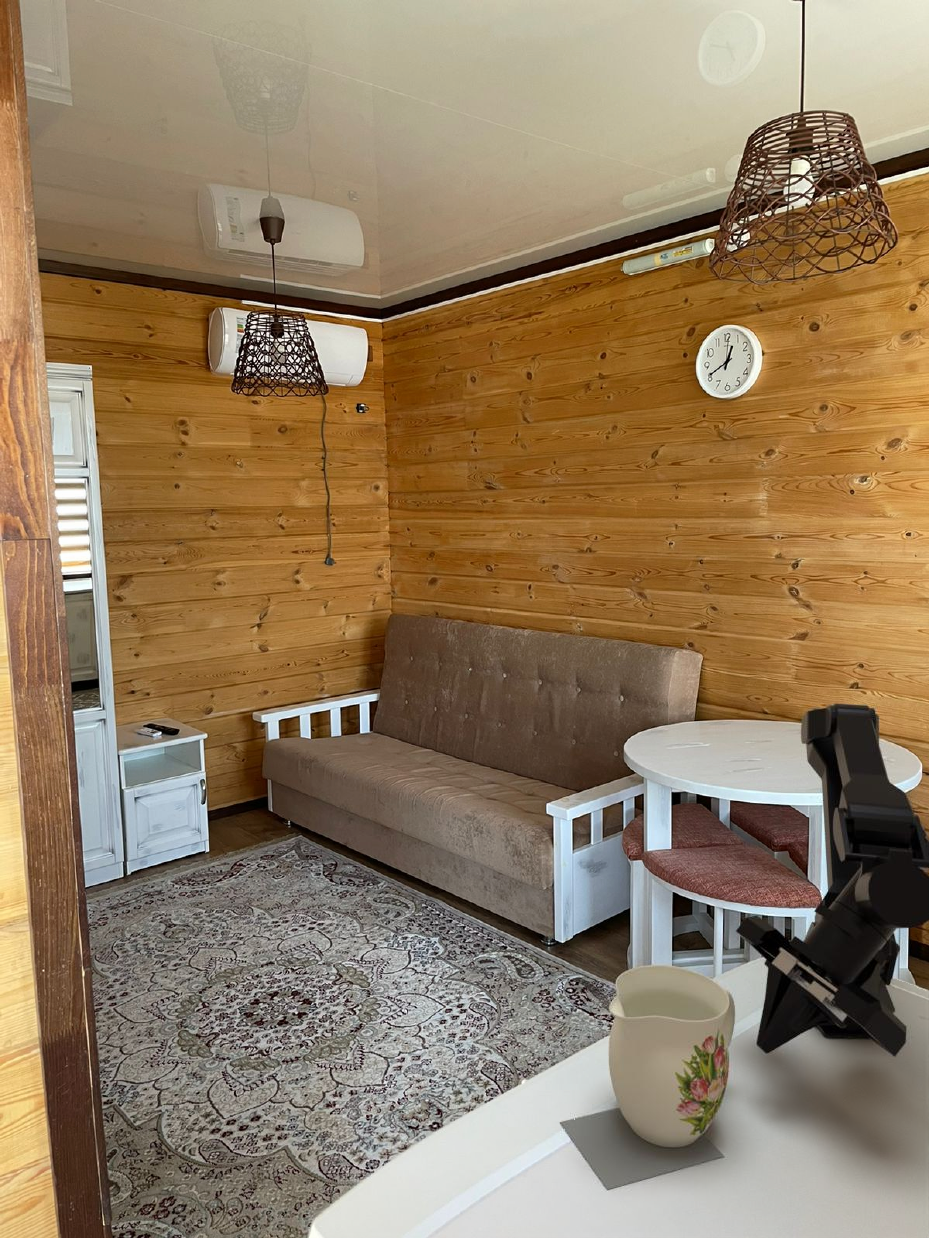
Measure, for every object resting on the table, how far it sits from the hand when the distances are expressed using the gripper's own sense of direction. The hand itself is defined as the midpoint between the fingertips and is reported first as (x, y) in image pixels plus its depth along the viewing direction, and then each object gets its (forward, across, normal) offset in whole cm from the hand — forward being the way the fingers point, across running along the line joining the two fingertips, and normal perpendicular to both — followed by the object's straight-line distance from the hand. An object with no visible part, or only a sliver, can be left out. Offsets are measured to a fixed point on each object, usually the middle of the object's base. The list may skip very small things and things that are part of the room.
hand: (761, 1049), depth 88 cm
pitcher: (+11, +1, +2) cm, 11 cm away
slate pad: (+14, 0, +5) cm, 15 cm away
